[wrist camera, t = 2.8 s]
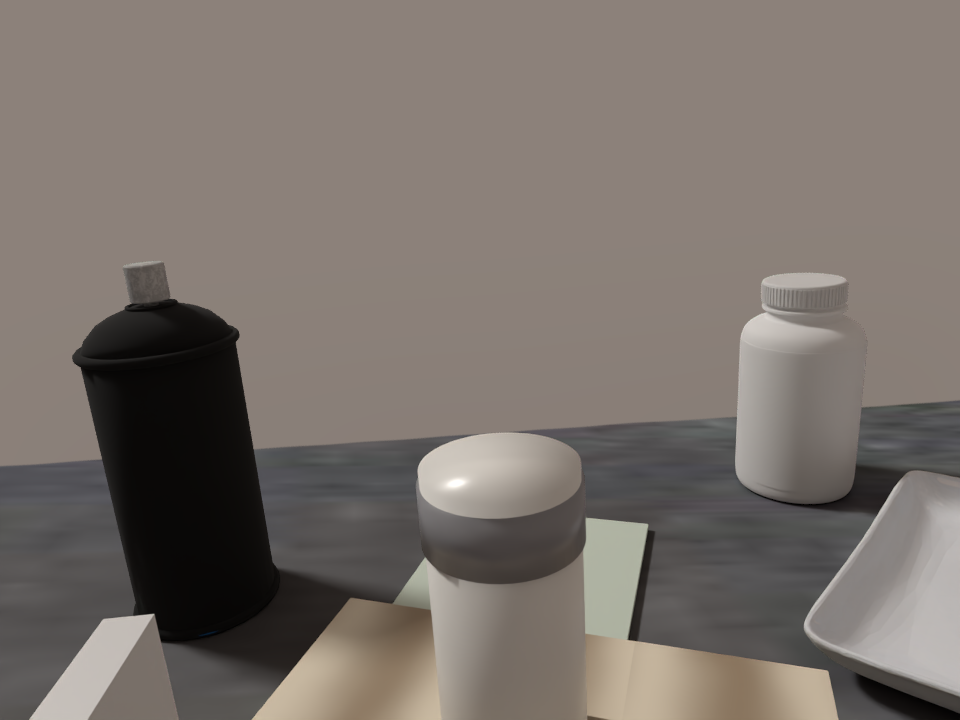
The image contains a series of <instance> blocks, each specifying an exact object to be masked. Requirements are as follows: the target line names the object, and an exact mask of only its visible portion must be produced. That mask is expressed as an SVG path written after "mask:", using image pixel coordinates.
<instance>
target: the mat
mask: <svg viewBox="0 0 960 720" xmlns="http://www.w3.org/2000/svg"><path fill="white" fill-rule="evenodd" d="M647 534H648V524H642V523H632V522H622V521H612V520H602V519H592V518H586V543H585V546H584V549H583V561H584V601H585V634H591V635H598V636H604V637H611V638H617V639H624V640H629V634H630V629H631V623H632V617H633V612H634V606H635V601H636V595H637V590H638V584H639V578H640V573H641V567H642V562H643V556H644V551H645V545H646V539H647ZM393 604H395V605H402V606H408V607H415V608H421V609H428V610H431V605H430V595H429V584H428V574H427V563H426V557H425V559H424V560H423V561H422V563H421V564H420V566H419V567H418V569H417V570H416V571H415V573H414V574H413V576H412V577H411V578H410V580H409V581H408V583H407V584H406V585H405V587H404V588H403V590H402V591H401V592H400V594H399V595H398V597H397V598H396V600H395V601H394V602H393Z"/></svg>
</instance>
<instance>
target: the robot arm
mask: <svg viewBox="0 0 960 720" xmlns="http://www.w3.org/2000/svg"><path fill="white" fill-rule="evenodd" d="M29 720H179V718H178V714H177V710H176V705H175V701H174V697H173V693H172V688H171V684H170V680H169V675H168V671H167V667H166V662H165V658H164V654H163V649H162V645H161V641H160V636H159V632H158V628H157V623H156V619H155V615H154V614H148V615H139V616H129V617H119V618H110V619H103V620H102V622H101V623H100V624H99V626H98V627H97V629H96V630H95V631H94V633H93V634H92V635H91V637H90V638H89V639H88V641H87V642H86V643H85V645H84V646H83V648H82V649H81V650H80V652H79V653H78V654H77V656H76V657H75V658H74V660H73V661H72V662H71V664H70V665H69V666H68V668H67V669H66V671H65V672H64V673H63V675H62V676H61V677H60V679H59V680H58V681H57V683H56V684H55V685H54V687H53V688H52V689H51V691H50V692H49V694H48V695H47V696H46V698H45V699H44V700H43V702H42V703H41V704H40V706H39V707H38V708H37V710H36V711H35V713H34V714H33V715H32V717H31V718H30V719H29Z"/></svg>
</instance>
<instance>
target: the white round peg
mask: <svg viewBox="0 0 960 720" xmlns="http://www.w3.org/2000/svg"><path fill="white" fill-rule="evenodd" d="M416 493H417V503H418V514H419V524H420V534H421V544H422V551H423V553H424V556H425V557H426V563H427V574H428V584H429V595H430V605H431V615H432V626H433V636H434V647H435V657H436V668H437V678H438V688H439V699H440V709H441V720H587V682H586V642H585V601H584V561H583V549H584V546H585V543H586V508H585V475H584V473H583V470H582V469H581V460H580V457H579V455H578V454H577V452H576V451H575V450H574V449H572V448H571V447H570V446H568V445H566V444H564V443H562V442H560V441H558V440H555V439H552V438H548V437H545V436H540V435H534V434H526V433H490V434H481V435H475V436H470V437H466V438H462V439H458V440H455V441H452V442H449V443H447V444H444V445H442V446H440V447H438V448H436V449H434V450H433V451H431V452H430V453H429V454H427V455H426V456H425V457H424V458H423V459H422V461H421V462H420V464H419V466H418V479H417V482H416Z"/></svg>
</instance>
